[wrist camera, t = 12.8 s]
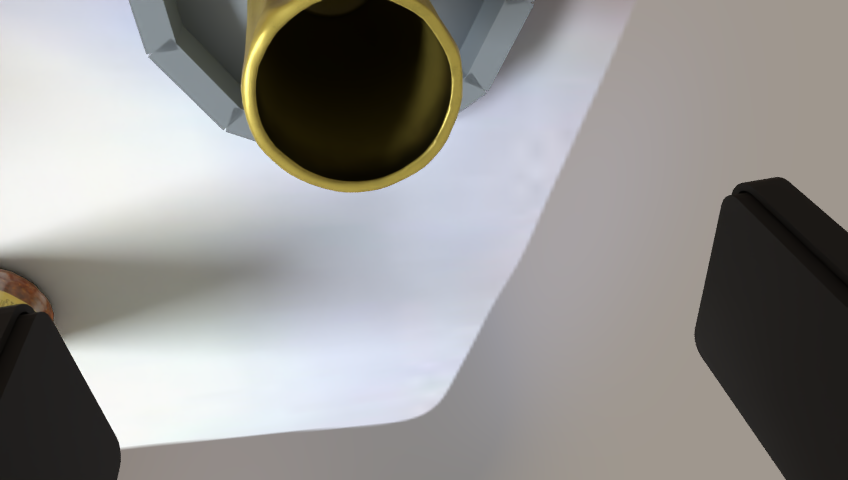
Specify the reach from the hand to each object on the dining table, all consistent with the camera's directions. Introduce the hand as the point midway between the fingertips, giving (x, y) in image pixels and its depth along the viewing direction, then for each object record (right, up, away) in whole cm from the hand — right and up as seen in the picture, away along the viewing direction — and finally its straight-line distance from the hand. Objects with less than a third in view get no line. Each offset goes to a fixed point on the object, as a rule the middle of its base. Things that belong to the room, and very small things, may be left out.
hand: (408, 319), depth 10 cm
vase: (-4, +13, +18) cm, 22 cm away
